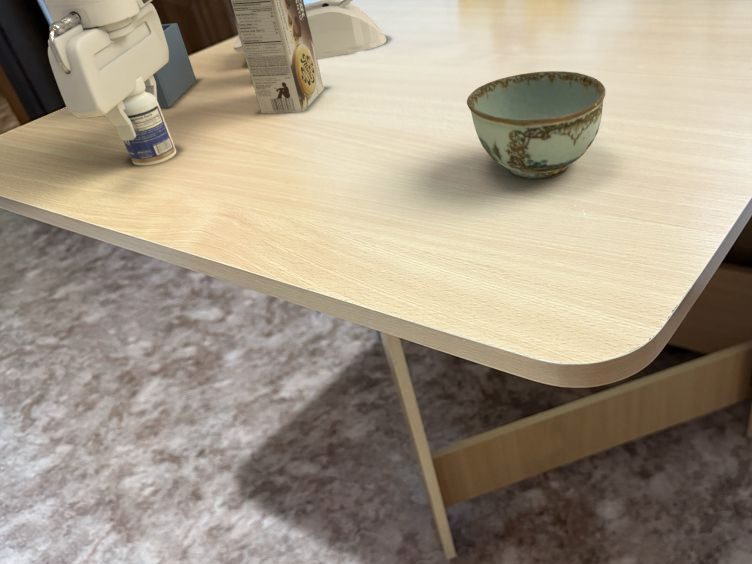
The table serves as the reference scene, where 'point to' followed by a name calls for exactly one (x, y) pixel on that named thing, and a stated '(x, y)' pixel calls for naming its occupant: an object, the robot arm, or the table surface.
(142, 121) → the pill bottle
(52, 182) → the table surface
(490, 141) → the bowl
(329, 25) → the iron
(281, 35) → the cookie box
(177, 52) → the drawer
